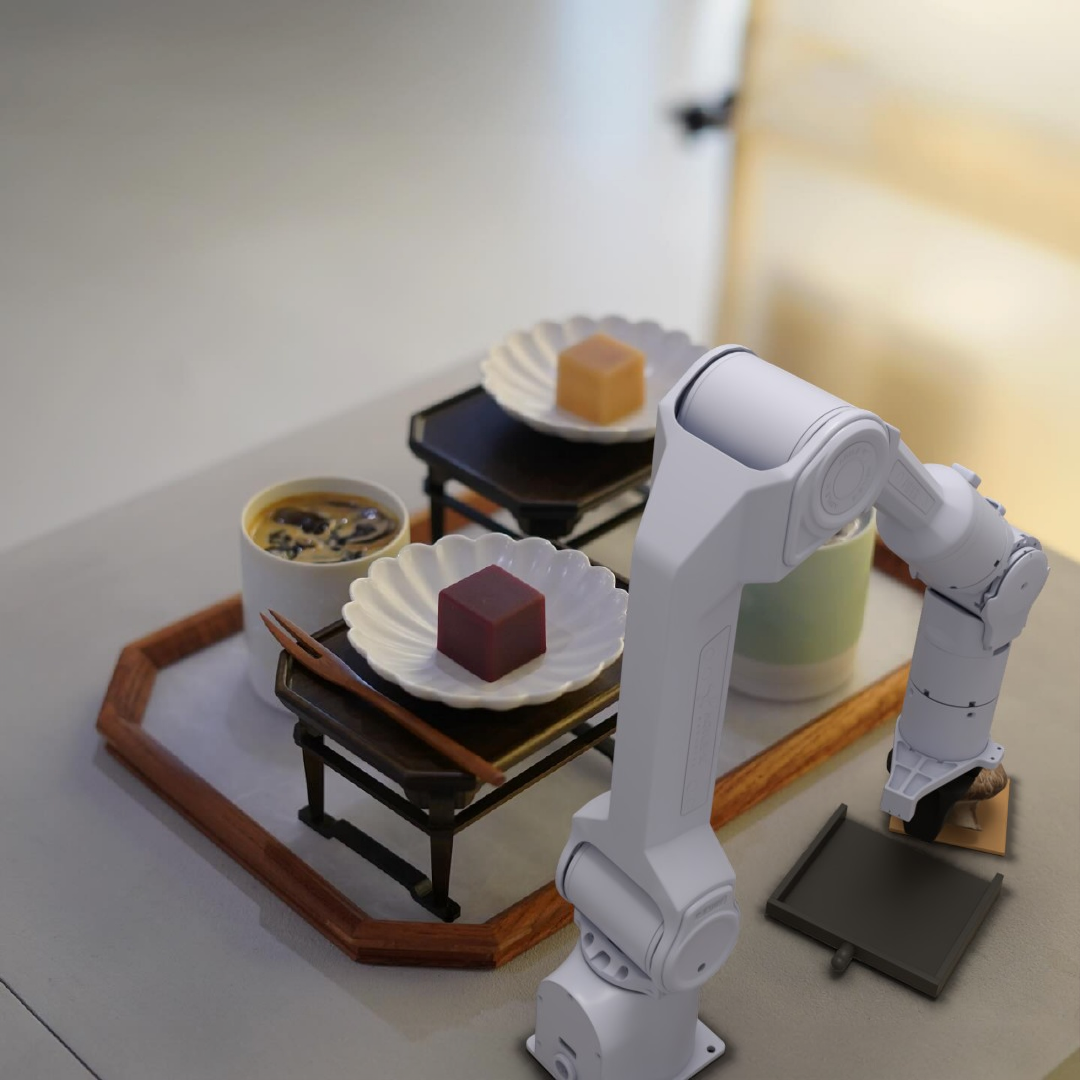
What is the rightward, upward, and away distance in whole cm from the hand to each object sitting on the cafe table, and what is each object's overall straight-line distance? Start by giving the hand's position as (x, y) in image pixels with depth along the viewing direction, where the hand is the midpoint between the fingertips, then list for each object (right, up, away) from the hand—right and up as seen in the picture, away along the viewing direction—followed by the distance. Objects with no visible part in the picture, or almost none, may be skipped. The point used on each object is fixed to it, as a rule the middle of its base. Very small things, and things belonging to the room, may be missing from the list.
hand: (921, 833), depth 105 cm
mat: (+4, +1, +6) cm, 7 cm away
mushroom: (+3, +1, +5) cm, 5 cm away
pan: (-4, -5, -3) cm, 7 cm away
